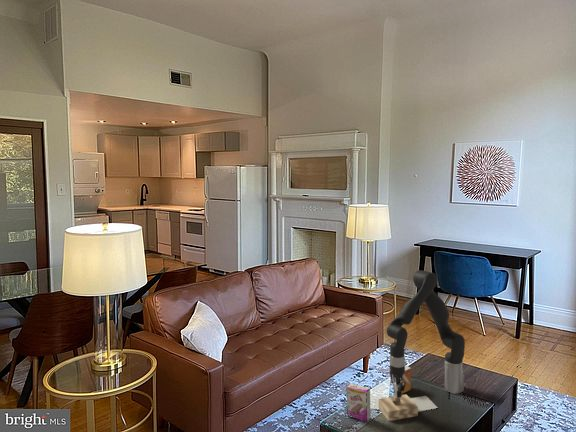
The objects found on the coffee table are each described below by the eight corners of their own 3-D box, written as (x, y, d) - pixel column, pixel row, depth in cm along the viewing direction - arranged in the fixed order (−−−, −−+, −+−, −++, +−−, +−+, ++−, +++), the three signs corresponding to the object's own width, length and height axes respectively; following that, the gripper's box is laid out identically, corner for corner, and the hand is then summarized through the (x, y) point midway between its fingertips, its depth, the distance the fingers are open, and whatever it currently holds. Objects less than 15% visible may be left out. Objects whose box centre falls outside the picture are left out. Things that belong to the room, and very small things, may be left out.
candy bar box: (346, 417, 221) (345, 386, 219) (350, 411, 225) (349, 382, 223) (367, 423, 215) (366, 392, 213) (371, 417, 219) (370, 387, 217)
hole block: (406, 403, 231) (406, 394, 230) (417, 415, 219) (417, 406, 219) (378, 407, 228) (378, 399, 227) (388, 421, 216) (388, 411, 215)
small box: (401, 394, 240) (401, 372, 238) (393, 389, 245) (392, 367, 243) (411, 389, 244) (411, 367, 242) (402, 385, 249) (402, 363, 248)
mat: (425, 396, 236) (425, 395, 236) (437, 408, 225) (437, 407, 225) (405, 399, 234) (405, 399, 234) (416, 412, 222) (416, 411, 222)
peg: (398, 398, 224) (398, 380, 223) (401, 401, 222) (401, 383, 220) (393, 399, 224) (393, 381, 223) (396, 402, 221) (395, 384, 220)
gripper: (410, 368, 214) (410, 401, 216) (397, 356, 228) (398, 387, 230) (396, 370, 213) (397, 403, 215) (384, 358, 226) (385, 389, 228)
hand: (397, 394), depth 222 cm, fingers closed on peg, 3 cm apart
